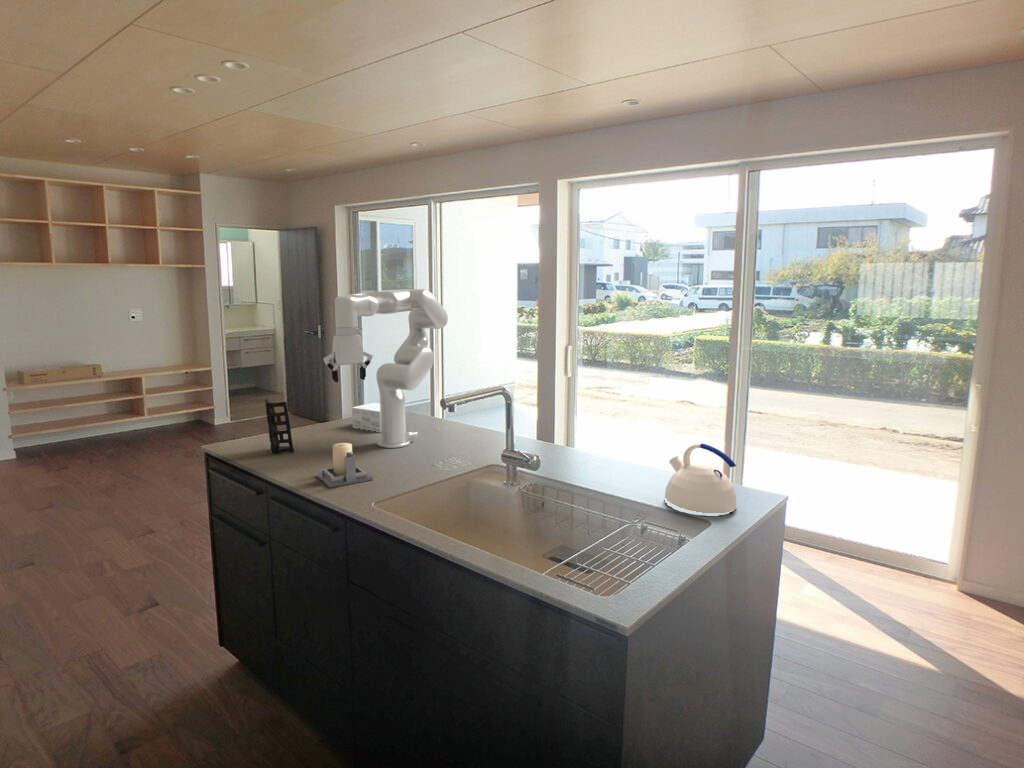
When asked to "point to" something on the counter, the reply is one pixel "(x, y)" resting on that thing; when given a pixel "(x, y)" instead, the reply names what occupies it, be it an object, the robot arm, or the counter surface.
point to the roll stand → (351, 473)
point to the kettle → (701, 484)
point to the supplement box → (367, 417)
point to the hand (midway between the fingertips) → (349, 380)
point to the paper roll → (340, 457)
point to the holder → (273, 427)
